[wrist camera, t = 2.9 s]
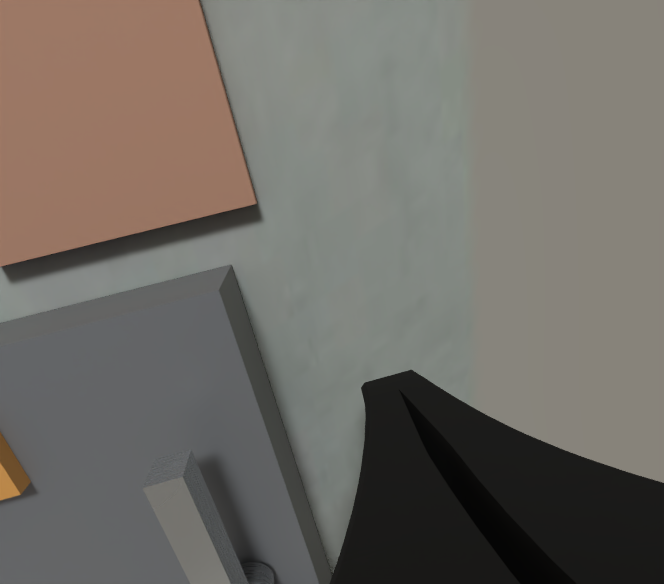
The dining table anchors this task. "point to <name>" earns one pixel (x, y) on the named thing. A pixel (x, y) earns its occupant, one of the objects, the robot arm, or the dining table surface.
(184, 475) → the clip
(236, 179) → the mat
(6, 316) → the dining table surface
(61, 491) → the power strip
